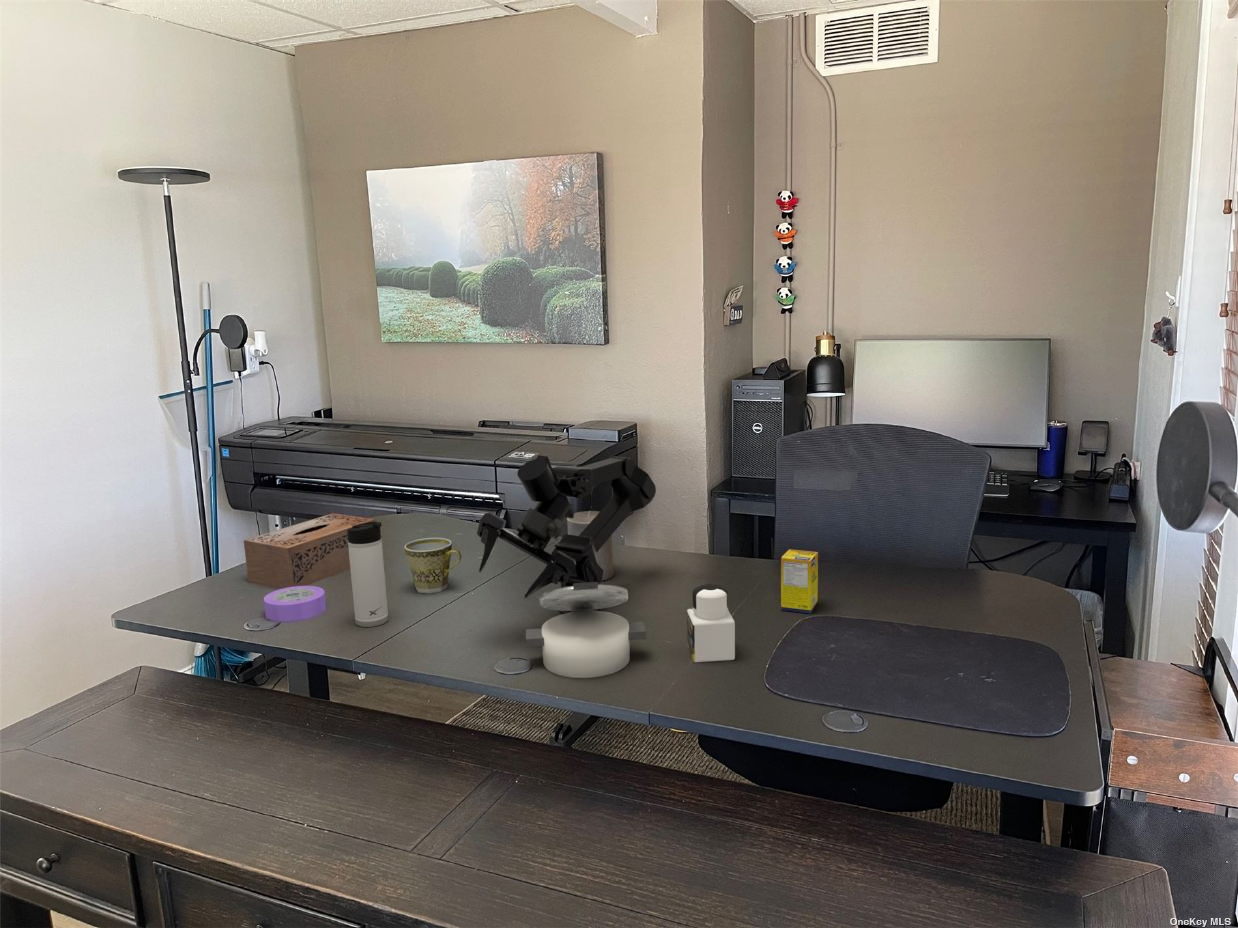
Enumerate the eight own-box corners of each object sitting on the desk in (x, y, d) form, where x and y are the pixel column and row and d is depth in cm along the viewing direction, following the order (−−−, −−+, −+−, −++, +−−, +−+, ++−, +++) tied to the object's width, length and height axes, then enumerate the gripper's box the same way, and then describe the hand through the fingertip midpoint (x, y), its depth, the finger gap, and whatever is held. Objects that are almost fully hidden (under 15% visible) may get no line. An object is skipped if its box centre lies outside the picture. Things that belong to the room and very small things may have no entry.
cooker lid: (540, 612, 160) (540, 601, 160) (624, 607, 161) (624, 596, 162) (539, 592, 144) (538, 580, 145) (632, 586, 145) (631, 574, 146)
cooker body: (527, 643, 162) (526, 612, 160) (639, 636, 163) (638, 605, 162) (527, 682, 146) (525, 647, 145) (650, 673, 148) (649, 639, 147)
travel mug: (381, 628, 171) (372, 527, 167) (349, 626, 172) (340, 527, 168) (395, 616, 177) (387, 519, 173) (364, 614, 178) (356, 518, 174)
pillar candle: (599, 566, 204) (596, 503, 201) (621, 577, 196) (618, 511, 193) (562, 574, 199) (558, 510, 196) (583, 586, 191) (579, 519, 188)
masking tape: (303, 598, 190) (301, 581, 189) (338, 608, 183) (336, 591, 182) (253, 616, 180) (251, 598, 180) (288, 627, 174) (286, 608, 173)
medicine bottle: (687, 646, 158) (686, 582, 156) (726, 643, 159) (726, 579, 156) (693, 663, 151) (692, 596, 149) (735, 660, 152) (735, 593, 150)
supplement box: (817, 604, 177) (818, 551, 174) (810, 614, 171) (811, 560, 169) (788, 600, 179) (788, 548, 177) (780, 610, 174) (780, 557, 172)
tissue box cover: (336, 551, 223) (332, 513, 221) (378, 559, 216) (375, 519, 214) (248, 582, 201) (243, 540, 199) (292, 592, 194) (287, 548, 192)
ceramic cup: (398, 593, 190) (394, 548, 188) (425, 578, 199) (422, 535, 197) (450, 600, 185) (447, 554, 183) (475, 584, 194) (472, 540, 192)
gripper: (507, 471, 159) (460, 536, 150) (598, 522, 157) (557, 590, 148) (499, 502, 168) (454, 565, 159) (585, 551, 166) (545, 617, 157)
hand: (502, 584), depth 155 cm, fingers open, 9 cm apart
